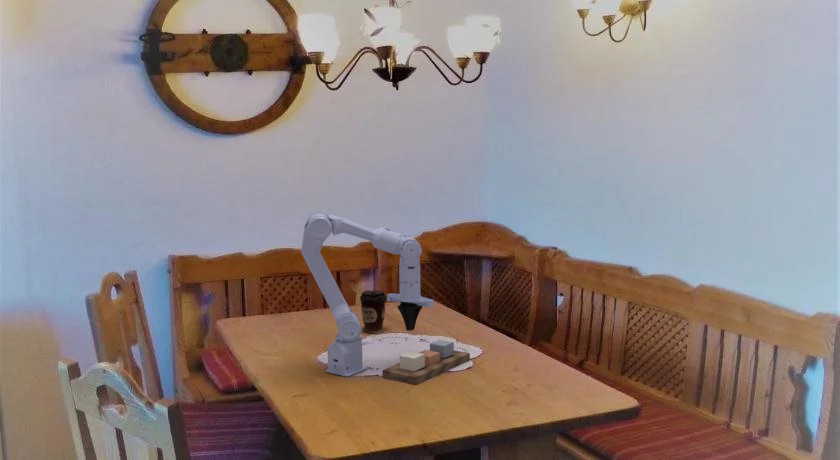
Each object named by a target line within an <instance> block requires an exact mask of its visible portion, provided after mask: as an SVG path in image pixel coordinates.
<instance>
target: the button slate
mask: <svg viewBox="0 0 840 460" xmlns="http://www.w3.org/2000/svg"><path fill="white" fill-rule="evenodd" d="M454 343H455V342H454V341H449V340H444V339H437V340H435V341H432V342H430V343H429V351H434V352H439V353H440V358H446V357H448V356H451V355H453V354H454V347H455V346H454Z"/></svg>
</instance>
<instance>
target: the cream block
mask: <svg viewBox="0 0 840 460" xmlns="http://www.w3.org/2000/svg"><path fill="white" fill-rule="evenodd" d="M399 363H400V368H401V369H406V370H410V371H416V370H419V369H421V368H423V367H425V354H422V353H419V352H417V351H412V350H411V351H408V352H404V353H403V354H400V355H399Z"/></svg>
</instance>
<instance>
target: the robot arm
mask: <svg viewBox="0 0 840 460" xmlns="http://www.w3.org/2000/svg"><path fill="white" fill-rule="evenodd" d="M343 233H344V234H347V235H351V236H354V237H355V238H356V237H357V238H360V239H364V240H367V241H369V242H371V244H372V246H373V248H375V249H377V250H378V249H379V250H381V251H383V252H387V253H390V254H393V255H395V256H396V255H399V264H398V265H399V267H398V268H399V270H398V273H399V275H398V277H399V293H387V295H386V296H387V299H386V302H389V303H390V302H395V303H400V304H399V305H397V310H398V311H399V312H400V315H401V317H402V318H403V319H402V320H403V323H404V326H405V330H406V331H408V332H409V331H410V332H411V331H414V330H415V328H416V324H417V320H418V316H419V314H420V313H421V311H422V309H423V307H426V308H427V309H428V308H429V309H430V308H434V306H435V304H434V302H435V299H430V298H427V297H425V296H422V294H421V263H420V262H421V261H420V260H421V259H420V257H421V256H422V253H423V249H422V246H421V244H420V242H418V240H416V239H415V237H412V236H410V235H407V234H406V233H404V232H402V234H401V233H399V232H395V231H392V230H391V228H390V227H388V226H385V227H377V229H373V228H370V227H367V226H365V225H362V224H360V223H357V222H355V221H353V220H349V219H347V218H344V217H341V216H338V215H334V214H326V213H325V212H321V211H317V212H314V213H311V214H310V215H309V217H308V218H307V220H306V222H305V224H304V227H303V236H302V243H301V244H302V245H301V250H300V253H301V255H302V257H303V259H304V260H305V263H306V266H307V267H308V269H309V271H310V273H311V275H312V277H313V279H314V280H315V282H316V283H317V286H318V287H319V290H320V292H321V294H322V295H323V297H324V299H325V301H326V303H327V305H328V307H329V309H330V310H331V313H332V316H333V317H334V320H335V324H336V327H337V333H336V335H335V340H334V341H333V342H331V344H329V346H328V348H327V369H325V372H326V373H329V374H334V375H338V376H343V377H345V378H346V377H350V376H351V377H352V376H353V375H356V374H357V373H360V372H364V371H365V370H368V369H370V366H369V365H365V364H363V335H362V334H361V333H362V329H363V328H362V324H361V323H360V319H359V316H358V314H357V313H356V312H355V311H353V310H352V309H351V308H350V306H349V304H348V302H347V301H346V300H345V298H344V296H343V295H344V294H342V292H341V290H340V288H339V286H338V283H337V282H336V280H335V278H334V276H333V274H332V272H331V271H330V269H329V267H328V265H327V263H326V261H325V259H324V257H323V255H322V254H321V250H322V247H323V245H324V242H325V241H326V240H327V239H328V238H329V236H331V234H332V236H336V235H340V234H343Z"/></svg>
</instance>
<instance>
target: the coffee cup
mask: <svg viewBox="0 0 840 460" xmlns="http://www.w3.org/2000/svg"><path fill="white" fill-rule="evenodd" d="M359 299H360V302H361V303H360V304H361V305H360V309H361V310H360V311H361V319H362V323H363V325H364V327H363V331H364V332H365V333H369V334H370V333H371V334H374V333H375V334H379V333H383V332H384V328H383V327H384V326H383V325H384V320H385V315H386V303H387V295H386V294H385V292H384V291H383V290H375V289H374V290H363V291H362V292H361V295H360V296H359Z"/></svg>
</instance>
